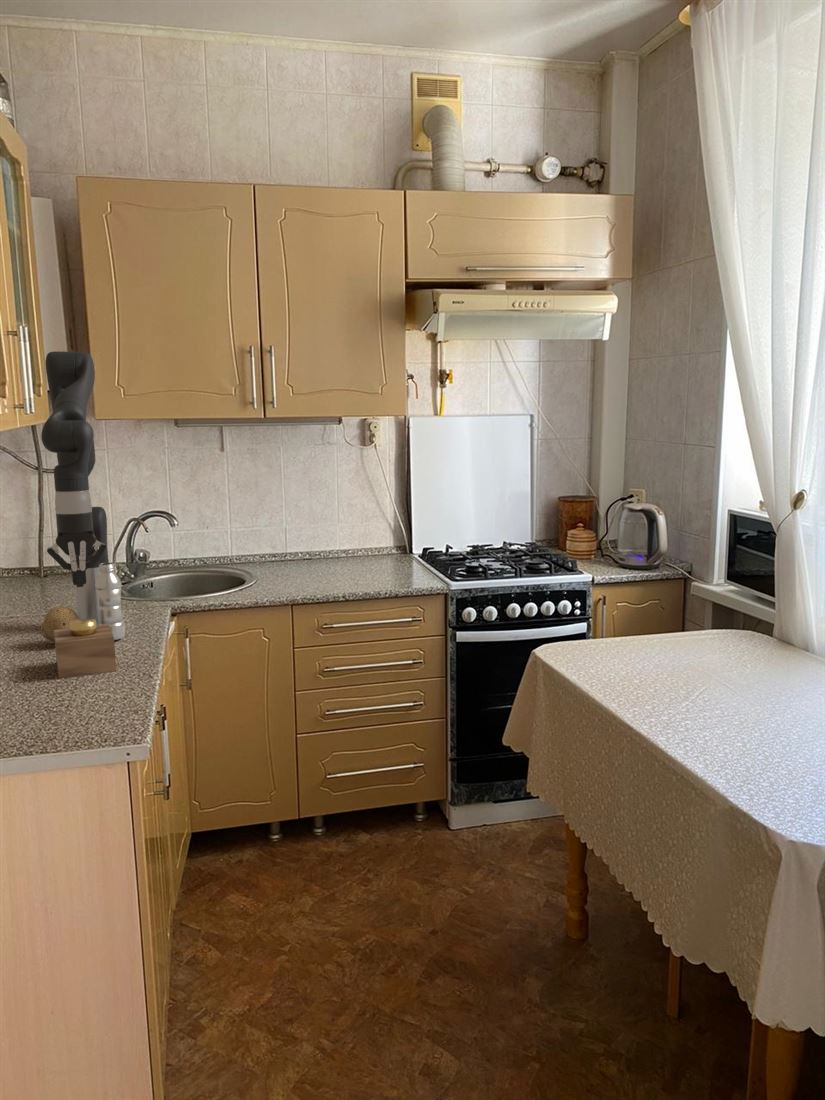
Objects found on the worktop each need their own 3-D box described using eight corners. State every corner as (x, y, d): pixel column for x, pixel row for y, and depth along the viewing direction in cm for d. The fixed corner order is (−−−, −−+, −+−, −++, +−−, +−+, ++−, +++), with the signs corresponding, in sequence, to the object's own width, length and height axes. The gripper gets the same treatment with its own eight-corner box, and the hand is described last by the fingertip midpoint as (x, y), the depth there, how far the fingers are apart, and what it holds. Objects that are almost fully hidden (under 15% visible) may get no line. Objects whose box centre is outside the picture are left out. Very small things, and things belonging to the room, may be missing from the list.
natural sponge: (86, 645, 211) (83, 606, 210) (49, 651, 206) (46, 612, 204) (75, 638, 218) (72, 601, 217) (39, 644, 213) (36, 606, 211)
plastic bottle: (117, 635, 221) (111, 560, 218) (131, 639, 216) (124, 563, 213) (94, 640, 216) (87, 564, 213) (107, 644, 211) (101, 566, 208)
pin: (72, 661, 193) (69, 620, 192) (98, 658, 196) (95, 617, 194) (73, 667, 188) (70, 625, 187) (100, 664, 191) (96, 622, 189)
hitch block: (56, 663, 195) (54, 630, 194) (110, 656, 200) (108, 624, 199) (58, 678, 184) (55, 643, 182) (116, 671, 189) (113, 636, 187)
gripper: (103, 507, 192) (109, 581, 195) (41, 510, 187) (47, 586, 190) (106, 510, 186) (112, 586, 188) (41, 514, 180) (48, 592, 183)
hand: (79, 586), depth 189 cm, fingers closed
